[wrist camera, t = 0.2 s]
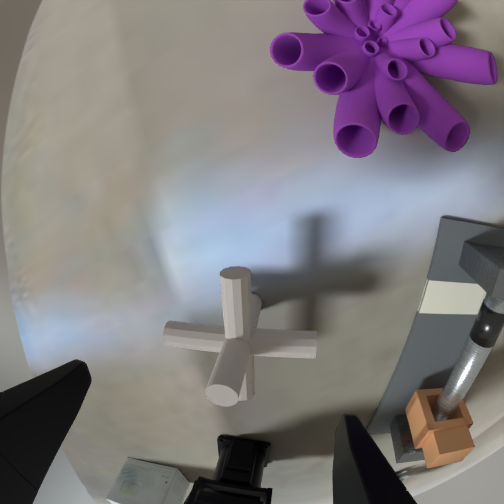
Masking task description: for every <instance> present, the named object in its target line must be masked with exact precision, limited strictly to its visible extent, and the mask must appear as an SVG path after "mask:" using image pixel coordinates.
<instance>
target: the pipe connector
mask: <svg viewBox="0 0 504 504" xmlns="http://www.w3.org/2000/svg"><path fill="white" fill-rule="evenodd" d="M220 281H221V294H222V306H223V317H224V326H217V325H206V324H195V323H186V322H176V321H168V322H167V323H166V325H165V328H164V334H163V336H164V342H165V345H167V346H172V347H179V348H186V349H194V350H202V351H211V352H220V353H219V356H218V358H217V361H216V363H215V366H214V369H213V371H212V374H211V377H210V379H209V382H208V384H207V387H206V390H205V395H206V397H207V398H208V399H209V400H210V401H211V402H213V403H214V404H217V405H219V406H232V405H235V404H236V403H237V402H238V400H240V401H244V400H248V399H250V398H252V397H253V395H254V394H255V384H254V355H255V356H270V357H290V358H315V356H316V348H317V331H300V330H276V329H258V328H256V327H257V323H258V319H259V315H260V311H261V306H262V301H261V299H260V298H259V296H257V295H256V294H253V293H252V290H251V272H250V270H249V269H247V268H245V267H239V266H237V267H229V268H225V269H223V270H222V271H221V272H220Z"/></svg>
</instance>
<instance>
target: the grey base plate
mask: <svg viewBox="0 0 504 504" xmlns="http://www.w3.org/2000/svg"><path fill="white" fill-rule="evenodd" d="M464 241H466V242H473V243H480V244H486V245H493V246H499V247H504V228H499V227H494V226H489V225H483V224H478V223H473V222H467V221H461V220H456V219H450V218H444V217H441V220H440V225H439V230H438V235H437V240H436V244H435V248H434V253H433V257H432V261H431V265H430V269H429V273H428V276H427V280H426V284H425V287H424V290H423V294H422V297H421V300H420V304H419V307H418V310H417V313H416V316H415V319H414V322H413V325H412V328H411V330H410V333H409V336H408V339H407V341H406V344H405V347H404V349H403V352H402V354H401V357H400V359H399V362H398V364H397V366H396V369H395V371H394V373H393V376H392V378H391V380H390V383H389V385H388V387H387V389H386V391H385V393H384V396H383V398H382V400H381V402H380V404H379V406H378V408H377V410H376V412H375V414H374V416H373V418H372V420H371V422H370V424H369V425H368V427H367V429H366V430H367V431H368V433H369V434H376V433H391V431H390V424H391V423H392V421H393V419H394V417H395V416H397V415H406V411H405V409H406V407H407V405H408V403H409V402H410V400H411V398H412V396H413V394H414V392H415V391H416V390H421V389H435V388H444V386H445V384H446V382H447V380H448V379H449V377H450V375H451V373H452V371H453V369H454V367H455V365H456V363H457V361H458V359H459V357H460V355H461V353H462V351H463V349H464V347H465V345H466V343H467V340H468V338H469V336H470V332H471V329H472V327H473V325H474V322H475V320H476V317H477V315H478V312H479V310H480V307H481V304H482V302H483V299H484V298H485V296H486V292H485V291H484V290H483V289H482V288H481V287H480V286H479V285H478V284H477V283H476V282H475V281H474V280H473V279H472V278H471V277H470V276H469V275H468V274H467V273H466V272H465V271H464V270H463V269H462V268H461V267H460V266H459V265H458V264H459V260H460V256H461V252H462V248H463V244H464Z"/></svg>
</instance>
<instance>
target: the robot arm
mask: <svg viewBox="0 0 504 504" xmlns="http://www.w3.org/2000/svg"><path fill="white" fill-rule="evenodd" d="M90 384H91V375H90V372H89V370H88V367H87V364H86V363H85V362H83V361H81V360H77V359H76V360H73V361H71V362H69V363H66V364H64V365H62V366H60V367H57V368H55V369H53V370H51V371H49V372H46V373H44V374H42V375H40V376H37V377H35V378H33V379H31V380H28V381H26V382H24V383H21V384H19V385H17V386H14V387H12V388H10V389H7V390H5V391H4V392H0V504H33V501H34V499H35V497H36V495H37V493H38V490H39V488H40V486H41V484H42V482H43V480H44V478H45V475H46V474H47V472H48V469H49V467H50V465H51V463H52V461H53V460H54V457H55V456H56V453H57V452H58V450H59V448H60V446H61V444H62V442H63V440H64V438H65V437H66V435H67V433H68V431H69V429H70V427H71V425H72V424H73V422H74V420H75V418H76V416H77V414H78V412H79V410H80V408H81V405H82V403H83V400H84V398H85V396H86V393H87V391H88V389H89V387H90ZM217 442H218V453H219V459H218V463H217V467H216V470H215V474H214V477H213V480H211V479H207V478H204V477H201V476H199V478H198V480H195V482H194V485H193V488H192V490H191V492H190V494H189V496H188V497H187V499H186V500H185V502H184V504H271V497H272V488H260V487H261V481H262V475H263V469H264V467H267V463H268V458H269V452H270V447H271V444H270V443H267V442H258V441H251V440H244V439H237V438H231V437H225V436H218V439H217ZM406 490H407V489H406V487H405V486H404V484H403V483H402V481H401V480H400V478H399V477H398V476H397V474H396V473H395V471H394V470H393V468H392V467H391V465H390V464H389V462H388V461H387V459H386V458H385V456H384V455H383V454H382V452H381V451H380V449H379V448H378V446H377V445H376V443H375V442H374V440H373V439H372V437H371V436H370V434H369V433H368V431H367V430H366V428H365V427H364V425H363V424H362V423H361V421H360V420H359V418H358V417H357V416H356V415H355V414H344V415H343V416H342V418H341V420H340V422H339V424H338V426H337V429H336V433H335V447H334V460H333V504H417V503H416V501H415V500H414V499H413V497H412V496H411V494H410V493H409V492H408V491H406Z"/></svg>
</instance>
